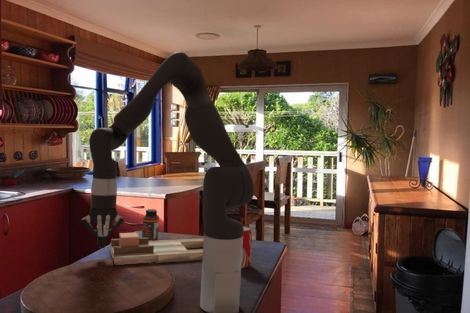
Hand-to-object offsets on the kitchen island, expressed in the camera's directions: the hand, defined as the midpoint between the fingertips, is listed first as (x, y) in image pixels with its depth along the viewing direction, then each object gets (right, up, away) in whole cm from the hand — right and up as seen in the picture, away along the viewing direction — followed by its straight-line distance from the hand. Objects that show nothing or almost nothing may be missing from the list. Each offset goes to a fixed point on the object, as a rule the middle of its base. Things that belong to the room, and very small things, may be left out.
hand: (102, 247), depth 123 cm
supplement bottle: (+10, -3, +24) cm, 26 cm away
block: (+7, -1, +3) cm, 8 cm away
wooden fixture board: (+19, -4, +8) cm, 21 cm away
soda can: (+43, -6, +1) cm, 43 cm away
